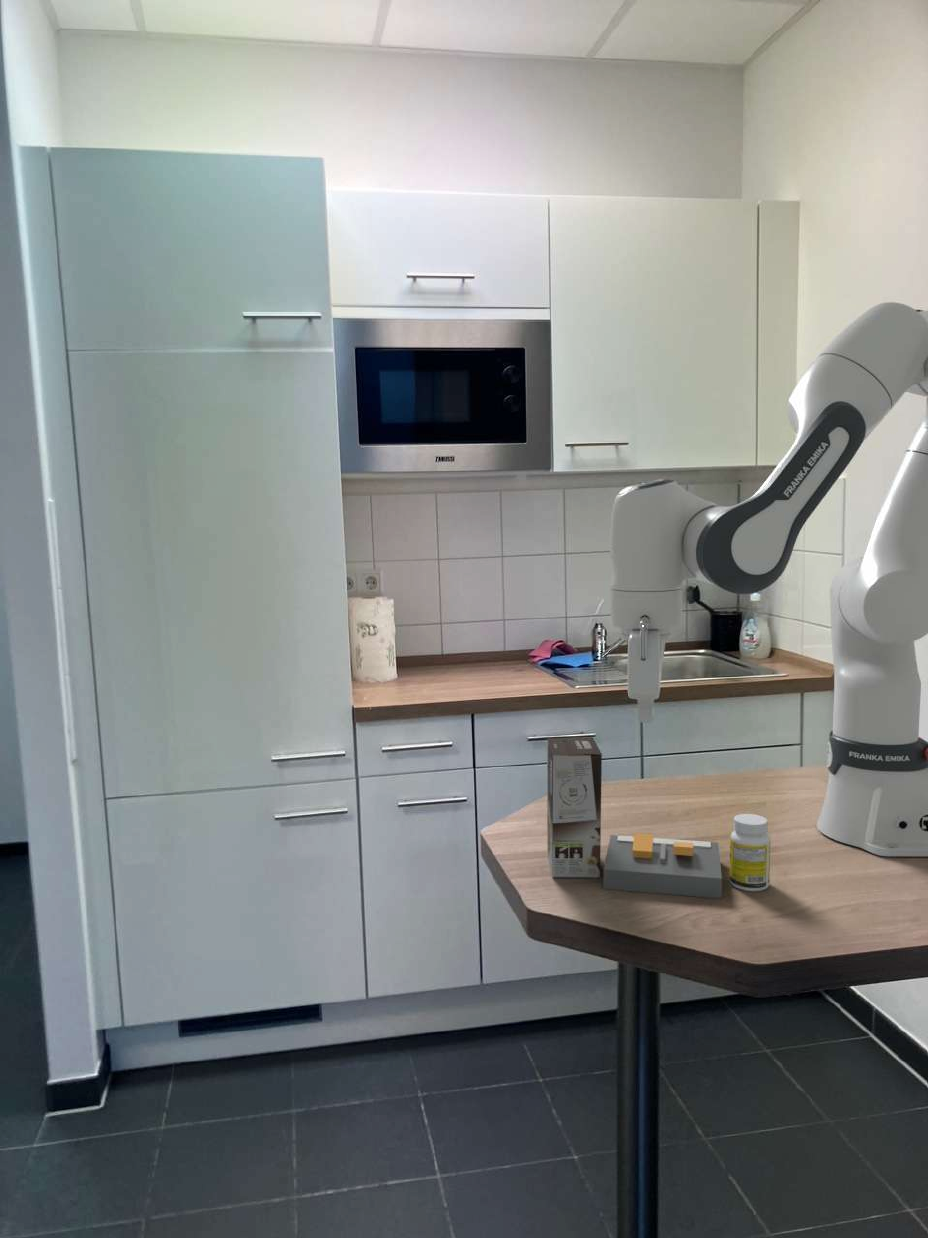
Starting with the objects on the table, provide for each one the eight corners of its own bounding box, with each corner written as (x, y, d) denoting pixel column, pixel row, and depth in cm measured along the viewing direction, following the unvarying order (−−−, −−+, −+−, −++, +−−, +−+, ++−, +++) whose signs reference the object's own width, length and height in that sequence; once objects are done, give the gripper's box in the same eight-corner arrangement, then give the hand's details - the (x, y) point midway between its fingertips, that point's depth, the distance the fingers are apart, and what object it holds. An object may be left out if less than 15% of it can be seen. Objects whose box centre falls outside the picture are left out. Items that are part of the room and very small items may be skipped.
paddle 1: (653, 841, 120) (653, 834, 119) (652, 858, 116) (652, 851, 116) (634, 839, 120) (634, 833, 120) (632, 857, 117) (632, 850, 116)
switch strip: (717, 860, 122) (718, 838, 122) (721, 898, 111) (722, 873, 110) (610, 852, 125) (610, 830, 125) (603, 888, 114) (603, 864, 113)
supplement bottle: (741, 873, 118) (743, 809, 117) (776, 884, 115) (778, 818, 114) (721, 884, 115) (723, 819, 114) (757, 896, 111) (759, 828, 110)
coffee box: (602, 878, 117) (603, 754, 115) (551, 878, 117) (551, 754, 115) (593, 851, 126) (594, 735, 124) (546, 851, 126) (546, 736, 124)
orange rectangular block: (692, 850, 119) (692, 843, 119) (693, 856, 115) (693, 847, 115) (673, 849, 119) (673, 841, 119) (673, 854, 115) (673, 846, 115)
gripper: (671, 622, 105) (671, 741, 106) (672, 602, 125) (672, 703, 126) (615, 622, 106) (615, 740, 108) (624, 602, 126) (625, 702, 128)
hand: (646, 720), depth 117 cm, fingers closed
